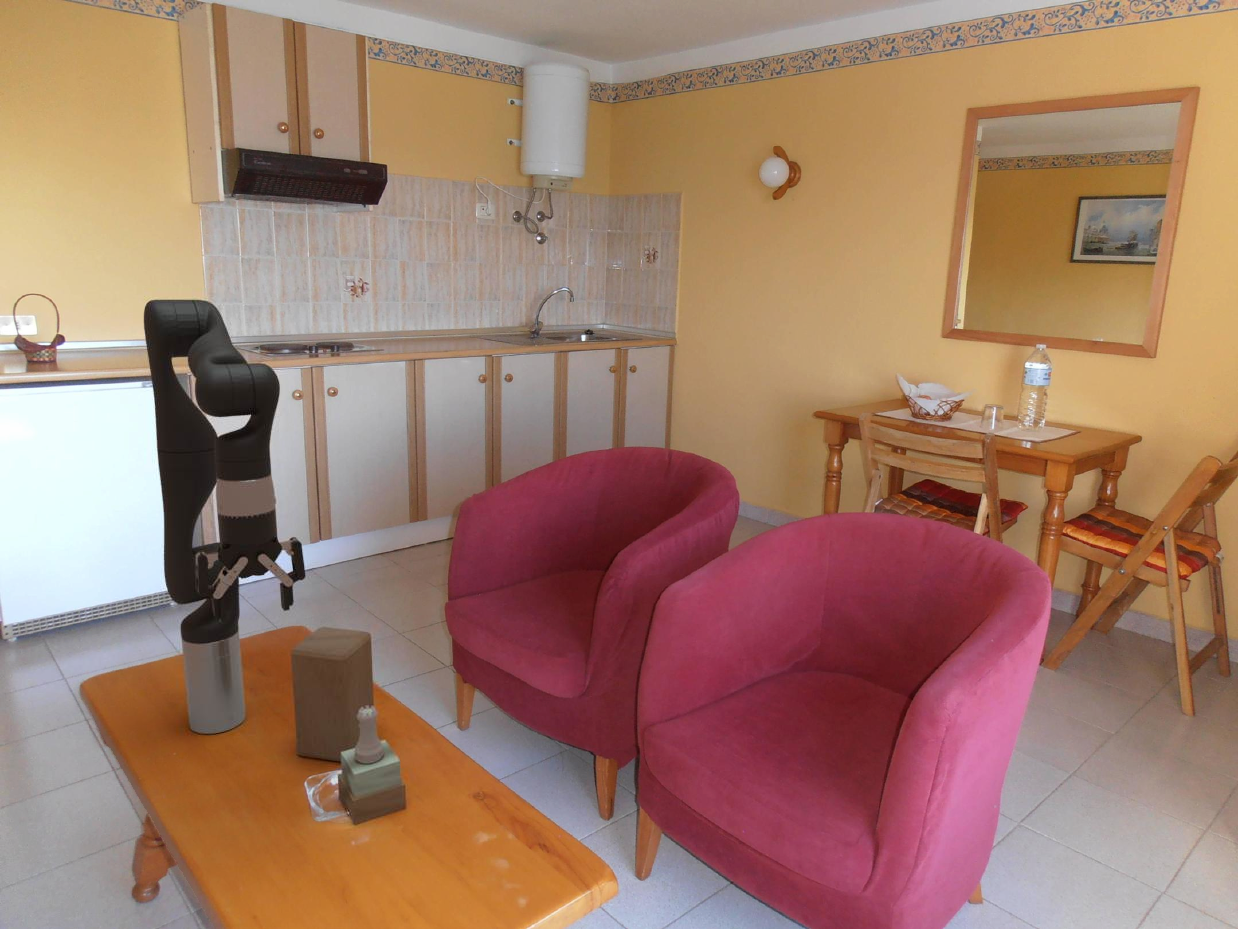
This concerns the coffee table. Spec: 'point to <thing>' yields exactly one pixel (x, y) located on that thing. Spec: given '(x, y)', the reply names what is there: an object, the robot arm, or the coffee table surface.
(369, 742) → the rook chess piece
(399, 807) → the tower base
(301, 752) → the block
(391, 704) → the coffee table surface
